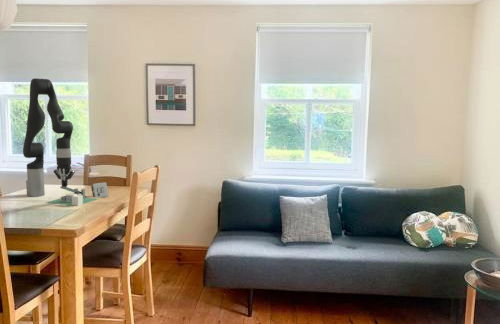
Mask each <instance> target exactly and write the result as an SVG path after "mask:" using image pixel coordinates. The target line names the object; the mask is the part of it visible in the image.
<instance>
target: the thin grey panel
mask: <svg viewBox="0 0 500 324" xmlns="http://www.w3.org/2000/svg"><path fill="white" fill-rule="evenodd" d="M60 189H62V190H66V191H68V192H72V193H73V194H74V193H77V194H78V195H81V190H78V191H77V190H74V189H75V188H71V187H68V186H67V187H64V186H62V185H61V186H60Z"/></svg>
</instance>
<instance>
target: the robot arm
mask: <svg viewBox="0 0 500 324" xmlns="http://www.w3.org/2000/svg"><path fill="white" fill-rule="evenodd" d="M39 95H42V96H43V95H44V96H48V102H47V105H46V111H47V113H48V116H49V118H50V122H51V128H52V131H53V132H54V133H55V134H63V136H62V137H58V138H56V139H55V142H56V143H55V144H56V146H55V147H56V152H55V153H56V154H55V156H56V161H55V162H56V165H57V167H56V169H54V170H53V173H54V175H55V176H56V178H57V179H58V180H60V181H61V186H64V187H68V185H69V184H68V180H71V179H72V177H73V176H74V174H75V172H76V171H75V170H73V169H72V152H71V138H72V135H73V131H74V125H73V123H72V122H71V121H69V120H64V119H65V115H64V113H63V111H62V108H61V107H60V104H59V101H58V98H57V93H56V91H55V88H54V84H53V83H52V81H51V80H50V79H47V78H32V79H31V81H30V84H29V104H28V111H27V112H28V113H27V120H26V121H27V122H26V131H25V136H24V137H25V138H24V140H23V141H24V142H23V145H22V146H23V147H22V154H23V157H25V158H27V159H33V158H35V159H34V160H33V161H31V162H28V163H27V164H26V179H27V180H26V181H25V182H26V183H25V185H26V186H25V187H26V196H28V197H43V196H45V176H44V175H45V172H44V161H45V160H44V156H45V153H44V152H45V149H44V145H43V144H42V142H33V141H34V139H35V137H37V135H38V134H39V133H40V132H41V131H42V130H43V128H44V126H45V120H46V113H45V111H44V110H43V108H42V107H41V105H40V103H39Z"/></svg>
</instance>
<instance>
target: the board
mask: <svg viewBox="0 0 500 324" xmlns="http://www.w3.org/2000/svg"><path fill="white" fill-rule="evenodd" d="M73 189H74V190H77V191H79V188H77V187H76V188H73ZM80 192H81V194H80V195H83V198H84V200H83V204H82V205H84V204H88V203H91V202H93V201H94V202H95V201H97V200H98V198H96V197H93V198H92V197H86V188H82V189H80ZM73 194H77V193H74V192H73ZM77 195H79V194H77ZM60 200H61V197H60V198H58V199H54V200H50V201H47V202H45V204H53V205H65V206H73V205H72V203H66V202H60ZM74 206H76V205H74Z"/></svg>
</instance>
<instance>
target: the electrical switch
mask: <svg viewBox="0 0 500 324" xmlns="http://www.w3.org/2000/svg"><path fill="white" fill-rule="evenodd" d="M90 187H91V193H92V197H93V198H96V199H100V198H101V199H102V198H107V197H109V191H108V185H107V181H106V182H97V183H91V186H90Z"/></svg>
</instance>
